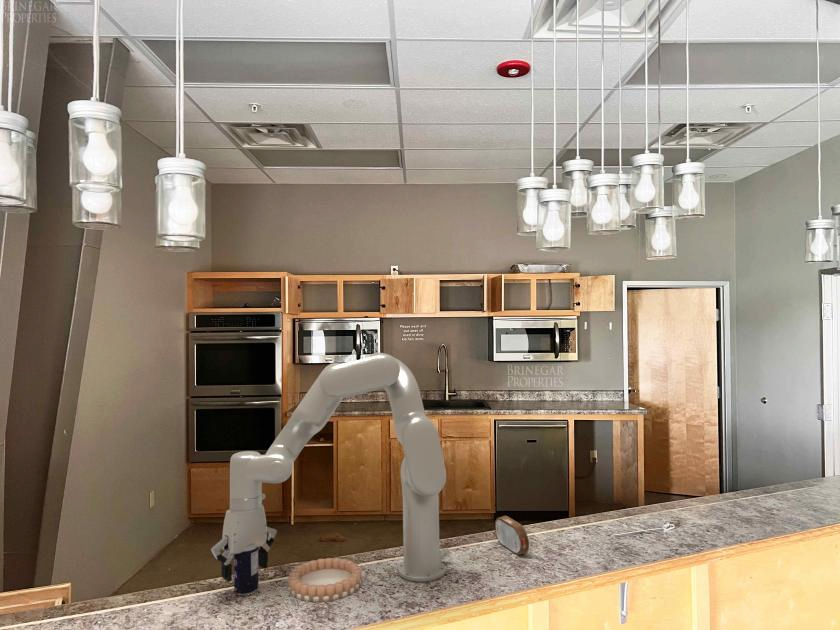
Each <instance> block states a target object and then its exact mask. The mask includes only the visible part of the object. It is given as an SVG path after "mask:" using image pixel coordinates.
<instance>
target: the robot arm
mask: <svg viewBox="0 0 840 630" xmlns="http://www.w3.org/2000/svg"><path fill="white" fill-rule="evenodd" d="M382 389H384V390H385V392H386V394H387V397H388V401H389V405H390V410H391V413H392V415H391V416H392V420H393V423H394V424H393V425H394V431H395V437H396V440H397V441H398V442H399V443H400V444H401V446H402V450H403V455H404V458H403V459H402V462H401V465H400V481H401V491H402V492H401V493H402V494H401V495H402V529H403V530H402V532H403V534H402V535H403V538H402V539H403V561H402V562H401V563H400V564H399V565H398V567H397V572H398V575H399V576H400V577H401V578H403V579H405V580H408V581H412V582H422V583H423V582H431V581H435V580H438V579H441V578H442V577H443V576H444V575H445V573H447V571H446V569H447V567H446V565H445V563H443V562H442V560H443V559H444V558H445V557H447V556H448V555H450V553H451V551H450V548H448V547H445V548H442V549H441V550H440V518H439V517H440V516H439V512H440V509H439V506H440V505H439V493H440V492H441V491H442V490H443V488H444V486H445V484H446V481H447V470H446V465H445V461H444V454H443V450H442V445H441V441H440V440H441V439H440V436H439V433H438V429H437V427H436V424H434V422H433V420H432V419H430V418H429V417H427V414H426V413H425V407H424V403H423V400H422V396H421V392H420V388H419V384H418V382H417V380H416V378H415V376H414V374H413V372H412V371H411V369H410V368H409V367H408V366H407V365H406V364H405V363H403V362H402V361H401V360H400V359H398V358H396V357H394V356H392V355H391V354H388V353H384V352H375V353H371V354H370V355H368V356H367V357H364V358H361V359H357V360H351V361H347V362H342V363H341V362H340V363H339V362H334V363H330V364H328V365H326V366H325V368H324V369H322V371H321V373H320V374H318V377H317V378H316V380H315V381H314V383H313V384H312V385H311V387H310V388H309V389H308V391H307V392H306V394H305V395H304V396H303V398H302V399H301V401H300V403H299V404H298V405H297V407H296V408H295V409H294V410H293V412H292V414H291V416H290V418H289V419H288V421H287V422H286V424H285V425H284V426H283V427H282V430H281V431H280V432H279V434H278V435H277V436H276V438H275V439H274V440H273V443H272V444H271V445H270V447H269V448H268V450H267V451H266V452H265V454H261V453H260V452H258V451H255V450H254V451H253V450H246V451H245V450H244V451H239V452H236V453H234V454H232V455H231V457H230V460H229V461H230V462H229V509H228V510H226V512H225V516H224V520H223V525H222V527H223V528H222V537H221V538H222V539H220V540H219V541H218V542H216V544H215V545H213V546H212V547H211V548H210V550H211V553H212V555H213V556H214V559H216V560H217V561H218V562H219V563H221V571H220V572H221V578H222V579H223V580H225V581H226V582H228V583H229V582H232V580H233V575H232V574H233V564H232V563H231V561H232V560H233V559H234V555H235V554H239V553H241V552H243V551H244V549H245V548H246V546H249V545H252V544H254V543H255V545H256V546H257V547H258V567H260V568H262V569H267V568H268V562H269V552H270V551H271V547H272V545H273V543H274V542H275V537H276V536H277V534H278V533H277V532H278V530H277V529H275V528H271V527H269V526H267V518H266V511H265V507H264V504H262V503H263V500H265V499H266V494H265V493H263V492H262V491H263V490H262V488H263V487H262V486H263V485H262V484H263V483H266V484H281V483H284V482H285V481H287V480H288V479H289V478H290V476H291V474H292V472H293V468H294V467H293V465H294V462H295V461H296V459H297V458H298V456H299V455H300V453H302V451H303V449H304V447H305V446H306V445H307V443H308V442H309V441H310V440H311V439H312V438H313V437H314V435H316V434H317V433H320V431H322V429H323V428H324V427H325V426H326V424H327V423H328V421H329V420H330V418H331V417H332V416H333V414H334V413H335V411H336V409H337V408H338V407H339V405H340V404H341V402H342V401H343V399H345V398H349V397H350V398H351V397H354V396H359V395H362V394H366V393H370V392H374V391H379V390H382ZM267 535H268V536H267ZM221 550H222V551H223V553H222V554H221Z"/></svg>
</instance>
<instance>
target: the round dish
mask: <svg viewBox="0 0 840 630" xmlns="http://www.w3.org/2000/svg"><path fill="white" fill-rule="evenodd" d="M361 569H362V567H361V566H360V565H359V564H358V563H357V562H354V561H353V560H348V559H347V558H339V557H334V558H332V557H327V558H318V559H317V560H315V559H314V560H313V559H312V560H310V561H308V562H302V564H301V565H300V564H299V565H296V566H295V568H292V569H291V572H289V573H288V578H287V579H288V589H287V590H289V591H288V592H289V594H290V595H291V596H292V595H293V596H292V597H294V598H295V599H296V600H297V599H298V600H300V601H304V602H312V603H323V602H332V601H336V600H341V599H344V598H346V597H349V596H350V595H352V594H354V593H356V591H358V589H360V588H361V586H362V581H363V580H362V570H361Z"/></svg>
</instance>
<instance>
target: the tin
mask: <svg viewBox="0 0 840 630" xmlns="http://www.w3.org/2000/svg"><path fill="white" fill-rule="evenodd" d="M494 525H495V526H494V527H495V535H496V538H497V540H498V542H499V544H501V546H503V547H504V548H506V549H507V550H508V551H509V552H511V551H512V552H511V553H513V554H514V555H517V556H520V555H524V554H528V552H529V549H530V541H529V536H528V534H527V531H526V529H525V528H524V526H523V525H522V524H521V523H520V522H518V521H516V520H514V519H513V518H511V517H509V516H507V515H502V516H499V517H497V518H496V520H495V522H494Z"/></svg>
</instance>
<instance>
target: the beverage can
mask: <svg viewBox="0 0 840 630" xmlns="http://www.w3.org/2000/svg"><path fill="white" fill-rule="evenodd" d="M258 551H259V547H257V546H256V545H255V543H254V544H252V545H249V546H246V548H245V549H244V551H243V552H241V553H239V554H235V555H234V557H233V581H234V582H233V591H234V592H235V593H236V594H237V595H238V594H239V595H238V596H240V595H248V594H251V593H253V592H254V593H255V592H256V590H258V588H259V566H258ZM254 593H253V594H254ZM251 595H252V594H251ZM248 596H249V595H248Z"/></svg>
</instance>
